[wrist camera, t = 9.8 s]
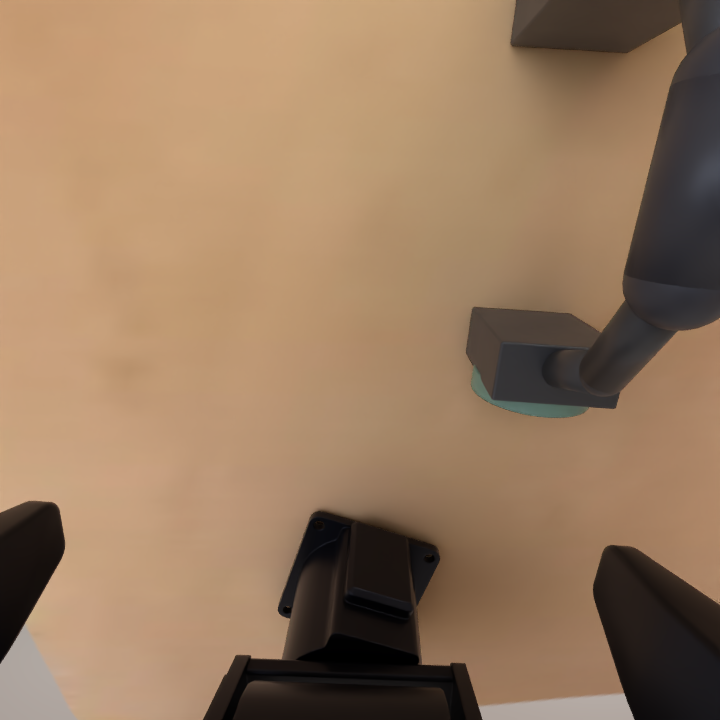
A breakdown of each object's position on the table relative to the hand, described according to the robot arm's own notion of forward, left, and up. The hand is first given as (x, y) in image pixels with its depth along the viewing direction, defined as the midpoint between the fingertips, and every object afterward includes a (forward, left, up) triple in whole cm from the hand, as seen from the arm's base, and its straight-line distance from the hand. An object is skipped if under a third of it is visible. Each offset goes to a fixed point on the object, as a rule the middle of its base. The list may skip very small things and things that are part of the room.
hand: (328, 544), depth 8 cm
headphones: (+7, -5, -12) cm, 15 cm away
